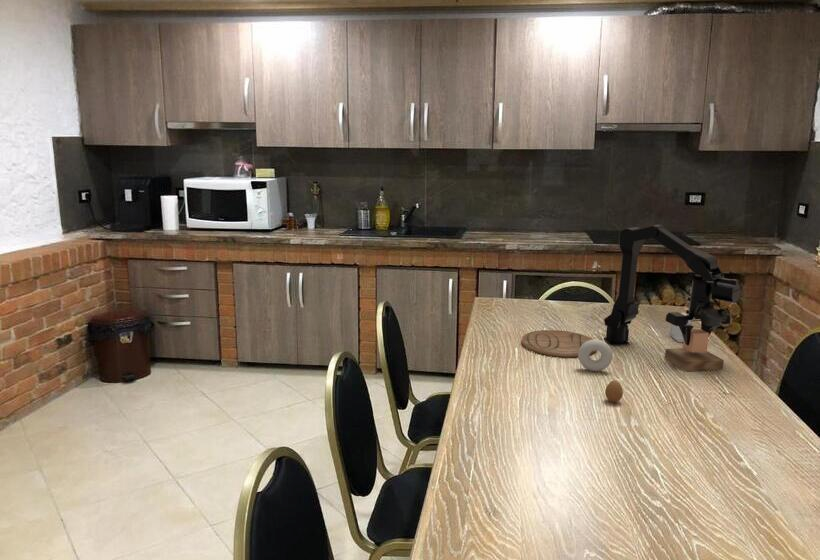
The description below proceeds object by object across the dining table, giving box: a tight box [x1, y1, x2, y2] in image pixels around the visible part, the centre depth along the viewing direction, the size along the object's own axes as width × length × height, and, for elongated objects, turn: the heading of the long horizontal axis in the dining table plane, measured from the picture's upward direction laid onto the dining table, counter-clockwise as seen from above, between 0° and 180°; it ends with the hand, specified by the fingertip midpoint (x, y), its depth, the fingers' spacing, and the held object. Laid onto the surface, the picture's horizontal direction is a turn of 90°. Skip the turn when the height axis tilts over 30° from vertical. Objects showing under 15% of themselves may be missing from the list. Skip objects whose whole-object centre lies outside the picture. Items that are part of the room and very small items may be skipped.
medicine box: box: [669, 312, 694, 344], centre depth 222 cm, size 8×4×9 cm, turn 179°
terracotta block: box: [682, 327, 710, 352], centre depth 197 cm, size 5×5×6 cm
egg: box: [604, 380, 624, 403], centre depth 169 cm, size 4×4×6 cm
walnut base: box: [664, 347, 725, 372], centre depth 198 cm, size 12×12×3 cm
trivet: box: [521, 329, 598, 359], centre depth 214 cm, size 25×25×2 cm
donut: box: [577, 338, 614, 372], centre depth 190 cm, size 10×3×10 cm, turn 77°
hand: (695, 344), depth 197 cm, fingers closed on terracotta block, 5 cm apart
